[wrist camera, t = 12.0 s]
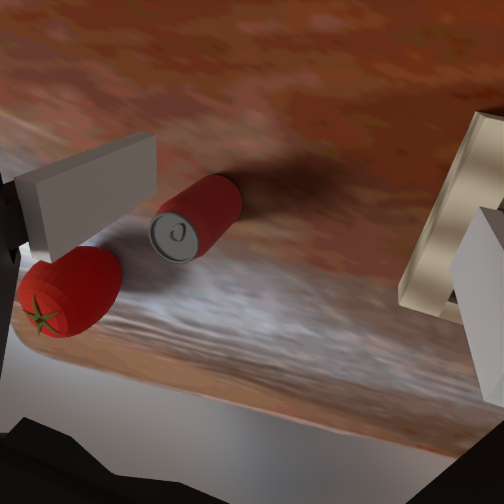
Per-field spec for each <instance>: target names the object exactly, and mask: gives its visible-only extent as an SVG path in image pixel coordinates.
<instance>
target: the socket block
mask: <svg viewBox="0 0 504 504" xmlns="http://www.w3.org/2000/svg"><path fill="white" fill-rule="evenodd" d="M479 206H481V207H485V208H490V209H494V210H499V211H502V212H503V214H504V117H501V116H496V115H491V114H486V113H482V112H477V111H476V112H475V114H474V116H473V119H472V121H471V123H470V125H469V128H468V130H467V132H466V134H465V137H464V139H463V141H462V143H461V146H460V148H459V150H458V152H457V155H456V157H455V159H454V161H453V164H452V166H451V168H450V170H449V173H448V175H447V177H446V179H445V182H444V184H443V186H442V188H441V191H440V193H439V195H438V197H437V200H436V202H435V204H434V206H433V209H432V211H431V213H430V215H429V218H428V220H427V222H426V224H425V227H424V229H423V231H422V233H421V236H420V238H419V240H418V242H417V245H416V247H415V249H414V251H413V254H412V256H411V258H410V260H409V263H408V265H407V267H406V269H405V272H404V274H403V276H402V278H401V281H400V283H399V285H398V295H399V305H401V306H404V307H407V308H410V309H414V310H417V311H420V312H423V313H427V314H430V315H433V316H436V317H439V318H443V319H446V320H449V321H452V322H456V323H459V324H462V325H464V324H463V320H462V317H461V313H460V309H459V306H458V302H457V298H456V294H455V291H454V287H453V283H452V280H451V276H450V272H449V266H450V264H451V262H452V260H453V258H454V256H455V254H456V252H457V250H458V248H459V246H460V244H461V242H462V239H463V237H464V235H465V233H466V231H467V229H468V227H469V225H470V223H471V221H472V219H473V217H474V215H475V213H476V211H477V209H478V207H479Z"/></svg>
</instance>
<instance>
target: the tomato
mask: <svg viewBox="0 0 504 504" xmlns="http://www.w3.org/2000/svg"><path fill="white" fill-rule="evenodd" d="M121 281H122V273H121V265H120V262H119V260H118V259H117V258H116V256H115V255H114V254H112V253H111V252H110V251H107V250H105V249H101V248H98V247H92V246H78V247H76V248H74V249H73V250H71V251H70V252H68V253H67V254H65V255H64V256H62V257H61V258H59V259H58V260H56V261H55V262H53V263H48V262H45V261H42V260H40V261H39V262H37V263H36V264H34V265H33V266H32V268H31V269H30V270H29V271H28V272H27V273H26V274H25V276H24V277H23V279H22V281H21V283H20V285H19V288H18V297H19V301H20V304H21V306H22V308H23V311H24V312H25V314H26V316H27V317H28V319H29V320H30V321H31V323H32V324H33V325H34V326H35V327H36V328H37V330H38V334H39V335H40V331H41V332H42V333H44V334H46V335H48V336H50V337H54V338H64V337H71V336H74V335H77V334H80V333H82V332H83V331H85V330H87V329H88V328H90V327H91V326H92V325H93V324H95V323H96V322H97V321H99V320H100V319H101V318H102V317H103V316H104V315H105V314H106V313H107V312H108V310H109V309H110V308H111V306H112V305H113V303H114V302H115V299H116V297H117V295H118V293H119V290H120V286H121Z"/></svg>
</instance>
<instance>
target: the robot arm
mask: <svg viewBox="0 0 504 504" xmlns="http://www.w3.org/2000/svg"><path fill="white" fill-rule="evenodd" d="M155 194H157V160H156V134H152V133H147V132H143V131H139V132H136V133H134V134H131V135H128V136H125V137H123V138H120V139H117V140H115V141H112V142H109V143H106V144H104V145H101V146H98V147H96V148H93V149H90V150H87V151H85V152H82V153H79V154H77V155H74V156H71V157H69V158H66V159H63V160H60V161H58V162H55V163H52V164H50V165H47V166H44V167H41V168H39V169H36V170H33V171H31V172H28V173H25V174H22V175H20V176H17V177H14V180H13V181H10V182H8V183H5V184H3V181H2V177H1V173H0V377H1V372H2V366H3V360H4V354H5V348H6V343H7V337H8V331H9V325H10V319H11V314H12V308H13V302H14V296H15V290H16V284H17V279H18V273H19V267H20V261H21V254H20V250H19V246H21V245H23V244H24V243H26V242H29V247H30V251H31V255H32V257H33V258H36V259H39V260H42V261H45V262H48V263H53V262H55V261H56V260H58V259H59V258H61V257H62V256H64V255H65V254H67V253H68V252H70V251H71V250H73V249H74V248H76V247H77V246H79V245H80V244H82V243H83V242H85V241H86V240H88V239H89V238H91V237H92V236H94V235H95V234H97V233H98V232H100V231H101V230H103V229H104V228H106V227H107V226H109V225H110V224H112V223H113V222H115V221H116V220H118V219H119V218H121V217H122V216H124V215H125V214H127V213H128V212H130V211H131V210H133V209H134V208H136V207H137V206H139V205H140V204H142V203H143V202H145V201H146V200H148V199H149V198H151V197H152V196H154V195H155ZM449 272H450V276H451V280H452V283H453V287H454V291H455V294H456V298H457V302H458V306H459V309H460V313H461V317H462V320H463V324H464V328H465V332H466V335H467V339H468V343H469V346H470V350H471V354H472V358H473V361H474V365H475V369H476V372H477V376H478V380H479V384H480V387H481V391H482V395H483V398H484V401H485V402H489V403H492V404H495V405H498V406H501V407H504V214H503V212H502V211H499V210H494V209H490V208H485V207H481V206H479V207H478V209H477V211H476V213H475V215H474V217H473V219H472V221H471V223H470V225H469V227H468V229H467V231H466V233H465V235H464V237H463V239H462V242H461V244H460V246H459V248H458V250H457V252H456V254H455V256H454V258H453V260H452V262H451V264H450V266H449ZM0 504H229V503H227V502H225V501H222V500H220V499H217V498H215V497H213V496H210V495H208V494H206V493H203V492H201V491H199V490H196V489H194V488H191V487H189V486H187V485H184V484H182V483H179V482H171V481H163V480H154V479H145V478H136V477H127V476H119V475H115V474H113V473H111V472H110V471H109V470H107V469H106V468H105V467H104V466H103V465H102V464H101V463H100V462H99V461H97V460H96V459H95V458H94V457H93V456H92V455H91V454H89V452H87V451H86V450H85V449H84V448H83V447H82V446H81V445H80V444H78V442H76V441H75V440H74V439H73V438H72V437H70V436H68V435H66V434H64V433H61V432H59V431H56V430H54V429H52V428H49V427H47V426H44V425H42V424H40V423H38V422H35V421H33V420H30V419H28V418H26V417H23V418H22V419H21V420H20V422H18V424H17V425H16V426H15V427H14V428H13V429H12V430H11V431H10V432H9V433H0ZM406 504H504V420H503V421H502V422H501V423H500V424H499V425H498V426H496V427H495V428H494V429H493V430H492V431H491V432H489V433H488V434H487V435H486V436H485V437H483V438H482V439H481V440H480V441H479V442H478V443H476V444H475V445H474V446H473V447H472V448H471V449H469V450H468V451H467V452H466V453H465V454H463V455H462V456H461V457H460V458H459V459H458V460H456V461H455V462H454V463H453V464H452V465H451V466H449V467H448V468H447V469H446V470H445V471H443V472H442V473H441V474H440V475H439V476H438V477H436V478H435V479H434V480H433V481H432V482H430V483H429V484H428V485H427V486H426V487H425V488H423V489H422V490H421V491H420V492H419V493H418V494H416V495H415V496H414V497H413V498H412V499H410V500H409V501H408V502H407V503H406Z"/></svg>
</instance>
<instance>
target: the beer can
mask: <svg viewBox="0 0 504 504" xmlns="http://www.w3.org/2000/svg"><path fill="white" fill-rule="evenodd" d="M242 203H243V202H242V198H241V194H240V192H239V190H238V188H237V186H236V185H235V184H234V183H233V182H232V181H230V180H229V179H227V178H225V177H223V176H219V175H209V176H206V177H204V178H202V179H200V180H199V181H197V182H196V183H194V184H193V185H191V186H190V187H188V188H187V189H185V190H184V191H182V192H181V193H179V194H178V195H176V196H175V197H173V198H172V199H170V200H169V201H167V202H166V203H164V204H163V205H162V206H161V207H160V209H159V210H158V211H157V213H156V214H155V216H154V218H153V219H152V220H151V222H150V225H149V228H148V231H149V239H150V242H151V244H152V246H153V247H154V249H155V250H156V252H157V253H158V254H159V255H160V256H162V257H163V258H164V259H166V260H168V261H170V262H173V263H177V264H180V263H187V262H189V261H191V260H193V259H195V258H198V257H200V256H202V255H204V254H205V253H206V252H207V251H208V250H209V249H210V248H211V247H212V246H213V245H214V243H215V242H216V241H217V240H218V239H219V238H220V237H221V236H222V235H223V234H224V233H225V231H226V230H227V229H228V228H229V227H230V226H231V225H232V224H233V223H234V222H235V221H236V219H237V218H238V217H239V215H240V213H241V211H242Z"/></svg>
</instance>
